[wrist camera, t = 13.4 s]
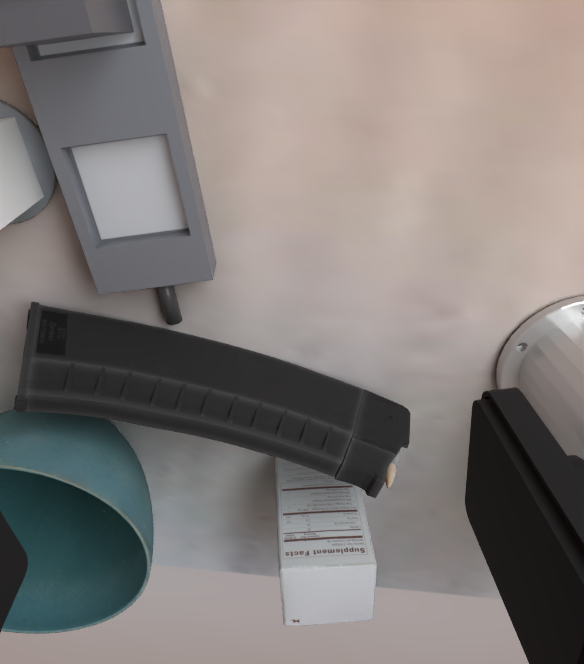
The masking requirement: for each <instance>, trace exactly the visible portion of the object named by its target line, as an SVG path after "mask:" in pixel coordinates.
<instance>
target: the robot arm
mask: <svg viewBox="0 0 584 664" xmlns="http://www.w3.org/2000/svg"><path fill="white" fill-rule="evenodd" d="M496 382H497V386H498V390H490V391H485V392H483V394H482V398H481V400H475V401H474V402H473V406H472V417H471V430H470V443H469V456H468V469H467V481H466V494H465V506H466V511H467V515H468V518H469V521H470V524H471V526H472V528H473V531H474V533H475V535H476V538H477V540H478V543H479V545H480V547H481V550H482V552H483V555H484V557H485V559H486V562H487V564H488V566H489V569H490V571H491V574H492V576H493V578H494V581H495V583H496V586H497V588H498V590H499V593H500V595H501V597H502V600H503V602H504V605H505V607H506V609H507V612H508V614H509V616H510V619H511V621H512V624H513V626H514V628H515V631H516V633H517V636H518V638H519V640H520V643H521V645H522V647H523V650H524V652H525V654H526V657H527V659H528V662H529V664H584V296H578V297H574V298H570V299H566V300H563V301H560V302H558V303H556V304H553V305H551V306H548V307H547V308H545V309H543V310H542V311H540V312H538V313H536V314H535V315H533V316H532V317H531V318H530V319H528V320H527V321H526V322H525V323H523V324H522V325H521V326H520V327H519V328H518V329H517V331H516V332H515V333H514V334H513V335H512V336H511V338H510V339H509V340H508V342H507V343H506V345H505V346H504V348H503V351H502V353H501V355H500V357H499V360H498V365H497V369H496ZM27 567H28V557H27V554H26V552H25V550H24V549H23V547H22V545H21V544H20V542H19V540H18V539H17V537H16V536H15V534H14V532H13V531H12V529H11V527H10V526H9V524H8V523H7V521H6V519H5V518H4V516H3V514H2V513H1V511H0V632H1V630H2V627H3V625H4V623H5V620H6V618H7V616H8V614H9V611H10V609H11V607H12V604H13V602H14V600H15V598H16V595H17V593H18V591H19V588H20V586H21V584H22V582H23V579H24V577H25V575H26V572H27Z"/></svg>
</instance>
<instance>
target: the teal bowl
mask: <svg viewBox="0 0 584 664" xmlns="http://www.w3.org/2000/svg"><path fill="white" fill-rule="evenodd" d="M0 511H1V513H2V514H3V516H4V518H5V519H6V521H7V523H8V524H9V526H10V527H11V529H12V531H13V532H14V534H15V536H16V537H17V539H18V540H19V542H20V544H21V545H22V547H23V549H24V550H25V552H26V554H27V557H28V567H27V572H26V575H25V577H24V579H23V582H22V584H21V586H20V588H19V591H18V593H17V595H16V598H15V600H14V602H13V604H12V607H11V609H10V611H9V614H8V616H7V618H6V620H5V623H4V625H3V627H2V630H1V631H5V632H15V633H34V634H37V633H58V632H66V631H73V630H77V629H82V628H86V627H90V626H93V625H96V624H99V623H102V622H104V621H107V620H109V619H111V618H113V617H115V616H116V615H118V614H120V613H122V612H123V611H124V610H126V609H127V608H128V607H129V606H131V605H132V604H133V603H134V602H135V601H136V600H137V599H138V598H139V596H140V595H141V594H142V592H143V590H144V589H145V587H146V585H147V582H148V579H149V575H150V570H151V564H152V554H153V514H152V506H151V499H150V494H149V489H148V485H147V481H146V478H145V475H144V472H143V469H142V467H141V464H140V462H139V460H138V458H137V456H136V454H135V452H134V450H133V449H132V447H131V446H130V444H129V443H128V441H127V440H126V439H125V437H124V436H123V435H122V434H121V433H120V432H119V430H118V429H117V428H116V427H115V426H114V425H113V424H112V423H111V422H110V421H109V420H108V419H105V418H98V417H91V416H82V415H73V414H63V413H47V412H30V411H25V413H16V410H15V409H14V410H10V411H7V412H4V413H1V414H0Z"/></svg>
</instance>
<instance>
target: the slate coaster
mask: <svg viewBox="0 0 584 664" xmlns="http://www.w3.org/2000/svg"><path fill="white" fill-rule="evenodd" d="M10 117H15V119H16V122H17V124H18V127H19V130H20V133H21V135H22V138H23V141H24V144H25V146H26V149H27V152H28V155H29V157H30V160H31V163H32V165H33V168H34V171H35V174H36V176H37V179H38V182H39V185H40V187H41V190H42V193H43V195H44V197H43V198H42V199H40V200H39V201H38V202H36V203H35V204H34V205H33V206H31V207H30V208H29V209H27V210H26V211H25V212H23V213H22V214H21V215H19V216H18V217H17V218H15V219H14V220H13V221H11V222H10V223H9V224H15V223H20V222H23V221H26V220H28V219H30V218H32V217H34V216H35V215H36V214H38V213H39V212H40V211H42V210H43V209H44V208H45V207H46V205H47V204H48V203H49V201H50V200H51V198H52V196H53V194H54V191H55V187H56V181H57V176H56V173H55V170H54V167H53V164H52V162H51V159H50V156H49V153H48V150H47V148H46V145H45V142H44V139H43V136H42V133H41V131H40V130H39V128H38V127H37V126H36V125H35V124H34V123H33V122H32V121H31V120H30V119H29V118H28V117H27V116H26V115H24V114H23V113H22V112H21V111H19V110H18V109H16V108H15V107H13V106H11V105H9V104H7V103H5V102H3V101H1V100H0V119H3V118H10Z"/></svg>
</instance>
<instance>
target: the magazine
mask: <svg viewBox="0 0 584 664" xmlns="http://www.w3.org/2000/svg"><path fill="white" fill-rule="evenodd" d="M14 409H15V410H16V413H25V411H30V412H47V413H63V414H73V415H82V416H91V417H98V418H105V419H112V420H118V421H123V422H128V423H133V424H138V425H143V426H148V427H153V428H159V429H164V430H169V431H174V432H180V433H185V434H190V435H195V436H200V437H204V438H208V439H212V440H217V441H221V442H225V443H228V444H232V445H236V446H239V447H243V448H247V449H250V450H254V451H257V452H261V453H265V454H268V455H271V456H275V457H278V458H281V459H284V460H287V461H290V462H293V463H296V464H299V465H302V466H304V467H307V468H310V469H313V470H316V471H319V472H321V473H324V474H327V475H330V476H332V477H335V478H334V479H335V480H338V481H343V482H346V483H349V484H352V485H355V486H357V487H360V488H362V489H363V490H365V491H366V494H367V495H368V496H371V497H374V498H376V496H377V495H378V493H379V491H380V490H381V488H382V486H383V485H384V482H385V481H386V486H387V488H390V487H391V485H392V483H393V481H394V478H395V474H396V469H397V465H398V462H399V453H400V448H401V447H404V448H407V447H408V444H409V435H410V412H409V410H408V409H407V408H405V407H404V406H402V405H400V404H397V403H395V402H393V401H390V400H388V399H386V398H383V397H381V396H378V395H376V394H374V393H371V392H369V391H367V390H363V389H360V388H358V387H355V386H352V385H350V384H347V383H344V382H342V381H339V380H336V379H333V378H331V377H328V376H325V375H322V374H319V373H317V372H314V371H311V370H308V369H305V368H303V367H300V366H297V365H294V364H291V363H288V362H285V361H282V360H279V359H276V358H273V357H270V356H267V355H263V354H260V353H256V352H253V351H250V350H246V349H243V348H239V347H235V346H232V345H228V344H224V343H220V342H216V341H212V340H208V339H204V338H200V337H196V336H193V335H188V334H184V333H179V332H175V331H170V330H166V329H161V328H157V327H152V326H147V325H142V324H138V323H132V322H127V321H122V320H116V319H111V318H106V317H100V316H95V315H90V314H85V313H79V312H74V311H69V310H63V309H58V308H53V307H47V306H42V305H39V303H37V302H32V303H31V309H30V310H29V312H28V321H27V334H26V341H25V347H24V353H23V360H22V367H21V375H20V382H19V388H18V396H16V399H15V407H14Z"/></svg>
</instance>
